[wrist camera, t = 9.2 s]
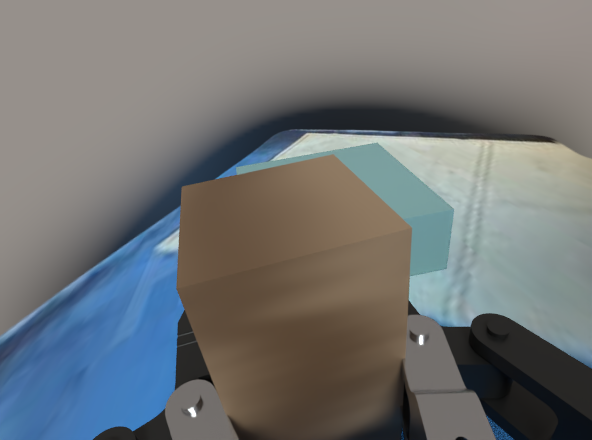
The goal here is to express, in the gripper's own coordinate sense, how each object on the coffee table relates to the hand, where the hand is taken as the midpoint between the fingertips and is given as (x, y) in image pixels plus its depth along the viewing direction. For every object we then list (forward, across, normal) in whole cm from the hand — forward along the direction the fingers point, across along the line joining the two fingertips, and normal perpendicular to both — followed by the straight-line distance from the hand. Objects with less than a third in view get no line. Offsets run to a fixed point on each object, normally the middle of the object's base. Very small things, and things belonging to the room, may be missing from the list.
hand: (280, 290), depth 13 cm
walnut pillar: (-3, 0, +7) cm, 8 cm away
